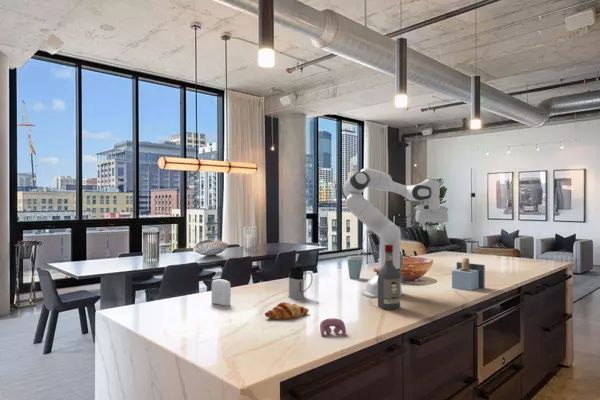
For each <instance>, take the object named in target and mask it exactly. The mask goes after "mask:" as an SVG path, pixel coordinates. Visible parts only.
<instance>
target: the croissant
mask: <svg viewBox="0 0 600 400" xmlns="http://www.w3.org/2000/svg"><path fill="white" fill-rule="evenodd" d="M309 311H310V309H309V308H306V307H305V306H303V305H302V306H300V305H298V304H296V303H292V304H291V303H290V302H286V301H283V302H280V303H278V304H277V306H275V307H273V308H272V309H270V310H268V311H267V312H265V313H264V316H265V317H267V318H268V319H272V320H278V321H279V320H290V319H297V318H299V317H298V316H300V317H302V316H304V315H307V314H308V313H309Z"/></svg>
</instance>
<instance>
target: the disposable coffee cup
mask: <svg viewBox="0 0 600 400" xmlns="http://www.w3.org/2000/svg"><path fill="white" fill-rule="evenodd" d="M346 260H347V269H348V275H349V279H352V280H359V279H360V277H361V271H362V266H363V260H364V258H363V256H361V255H348V256H347V258H346Z"/></svg>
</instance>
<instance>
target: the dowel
mask: <svg viewBox="0 0 600 400" xmlns="http://www.w3.org/2000/svg"><path fill="white" fill-rule="evenodd" d="M461 262H462V271H465V272H469V263H470V258H467V257H462V258H461Z"/></svg>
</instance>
